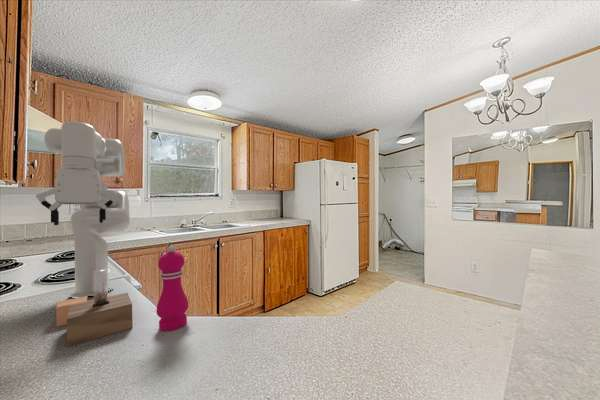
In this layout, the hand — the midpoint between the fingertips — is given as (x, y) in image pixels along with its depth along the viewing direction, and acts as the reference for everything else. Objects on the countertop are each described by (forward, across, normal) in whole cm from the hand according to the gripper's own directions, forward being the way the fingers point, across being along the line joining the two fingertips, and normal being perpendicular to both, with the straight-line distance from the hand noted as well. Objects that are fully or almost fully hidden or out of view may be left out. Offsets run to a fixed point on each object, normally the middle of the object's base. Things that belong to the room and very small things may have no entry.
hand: (79, 223), depth 71 cm
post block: (+27, -4, +12) cm, 30 cm away
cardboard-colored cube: (+26, +2, -1) cm, 27 cm away
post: (+22, -4, +13) cm, 25 cm away
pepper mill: (+28, -18, +25) cm, 41 cm away
